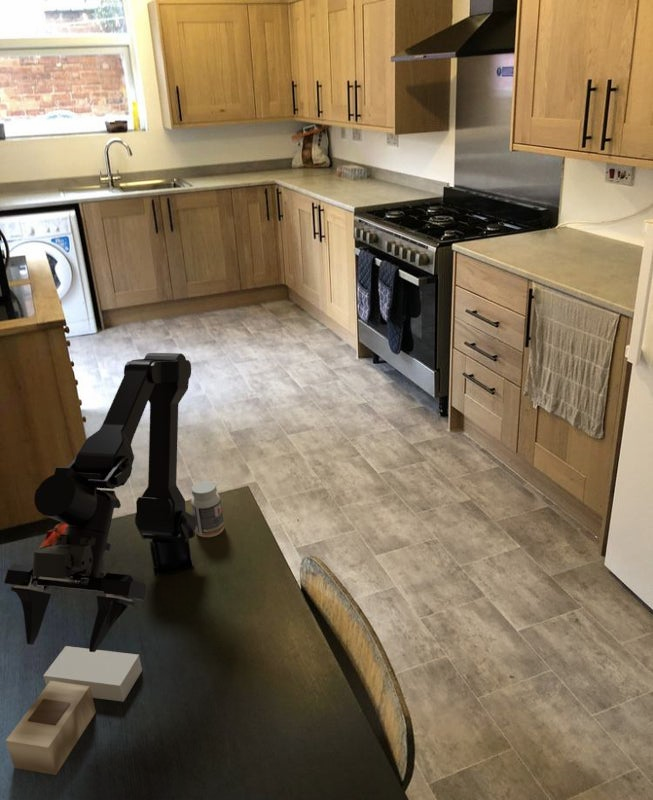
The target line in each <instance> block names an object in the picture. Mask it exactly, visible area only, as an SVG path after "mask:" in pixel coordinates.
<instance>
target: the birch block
mask: <svg viewBox="0 0 653 800" xmlns="http://www.w3.org/2000/svg"><path fill="white" fill-rule="evenodd" d="M95 707H96V706H95V702H94V698H92V694H91V690H90V686H85V685H77V684H70V683H63V682H56V681H50V682H49V683H48V685H47V686H46V685H45V688H44V689H43V690H42V692H41V693H40V694H39V695H38V697H37V698H36V699H35V700H34V702H33V703H32V704H31V706H30V707H29V709H28V710H27V712H25V714H24V715H23V717H22V718H21V720H20V721H19V722H18V723H17V724H16V726H15V728H13V730H12V732H11V733H10V734H9V736H8V737H7V738H6V739H5V742H6V743H5V744H6V746H7V749H8V753H9V755H10V759H11V762H12V765H13V768H15V769H19V770H25V771H31V772H37V773H43V774H48V775H55V776H56V775H57V774H58V773H59V771H60V769H61V767H62V766H63V765H64V763H65V761H66V760H67V758H68V756H69V755H70V753H71V752H72V750H73V748H74V747H75V745H77V743H78V741H79V740H80V738H81V736H82V735H83V733H84V732H85V730H86V728H87V727H88V725H90V724H89V723H90V722H91V720H92V719H93V718H94V716H95V715H96V713H97V712H96V708H95Z"/></svg>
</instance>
